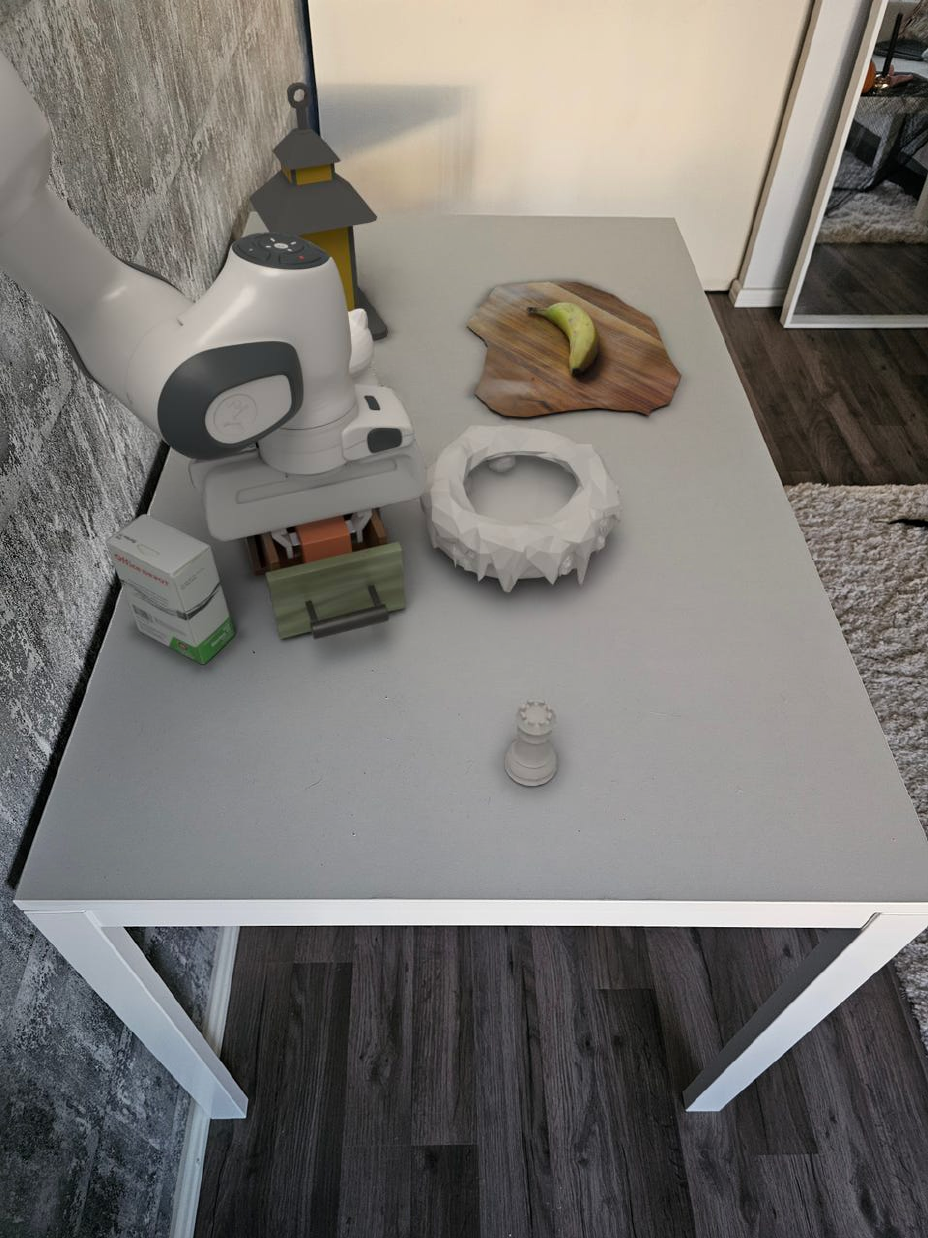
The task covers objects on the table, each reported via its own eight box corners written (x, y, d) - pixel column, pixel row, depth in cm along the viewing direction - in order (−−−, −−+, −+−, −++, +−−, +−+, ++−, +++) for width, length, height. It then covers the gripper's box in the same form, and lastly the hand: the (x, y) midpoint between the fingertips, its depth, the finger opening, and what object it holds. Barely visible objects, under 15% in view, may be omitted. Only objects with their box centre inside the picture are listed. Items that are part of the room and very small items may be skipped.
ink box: (238, 634, 88) (214, 544, 79) (202, 668, 85) (173, 578, 76) (172, 599, 91) (142, 508, 82) (135, 630, 88) (100, 539, 79)
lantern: (263, 308, 129) (223, 72, 107) (357, 289, 133) (337, 58, 111) (290, 358, 120) (253, 112, 98) (390, 336, 124) (376, 95, 102)
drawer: (418, 638, 86) (416, 581, 81) (290, 672, 83) (278, 615, 78) (368, 520, 98) (362, 462, 92) (253, 546, 95) (240, 488, 89)
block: (308, 579, 87) (302, 544, 83) (298, 548, 90) (292, 514, 86) (354, 568, 88) (350, 533, 84) (342, 538, 91) (338, 503, 87)
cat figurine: (312, 448, 107) (296, 334, 96) (304, 389, 116) (288, 277, 104) (387, 440, 109) (380, 326, 97) (374, 382, 117) (366, 270, 106)
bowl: (385, 584, 92) (379, 509, 85) (459, 467, 105) (460, 393, 98) (580, 642, 87) (592, 567, 80) (634, 511, 100) (648, 437, 93)
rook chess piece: (561, 785, 77) (570, 730, 71) (509, 792, 76) (514, 738, 70) (549, 741, 80) (557, 685, 74) (499, 748, 79) (503, 692, 73)
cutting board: (700, 415, 112) (706, 389, 110) (482, 429, 110) (482, 402, 107) (632, 278, 136) (636, 253, 133) (451, 287, 134) (451, 262, 131)
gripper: (189, 474, 73) (221, 594, 83) (431, 425, 78) (433, 543, 88) (178, 430, 77) (210, 549, 87) (409, 385, 82) (414, 503, 92)
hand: (324, 546), depth 87 cm, fingers closed on block, 4 cm apart
